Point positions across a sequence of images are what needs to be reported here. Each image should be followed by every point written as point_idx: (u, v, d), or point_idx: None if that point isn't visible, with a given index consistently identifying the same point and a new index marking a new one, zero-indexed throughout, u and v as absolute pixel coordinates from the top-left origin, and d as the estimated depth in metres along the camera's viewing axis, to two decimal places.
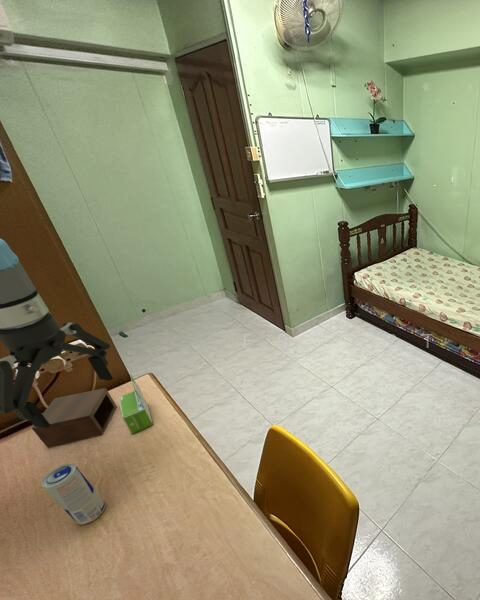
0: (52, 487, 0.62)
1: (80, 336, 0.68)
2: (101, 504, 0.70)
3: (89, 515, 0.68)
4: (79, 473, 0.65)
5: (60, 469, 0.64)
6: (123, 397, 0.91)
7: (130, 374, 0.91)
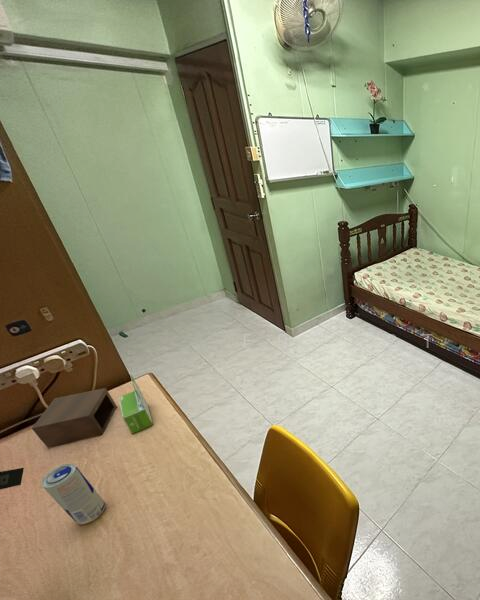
0: (52, 487, 0.62)
1: None
2: (101, 504, 0.70)
3: (89, 515, 0.68)
4: (79, 473, 0.65)
5: (60, 469, 0.64)
6: (123, 397, 0.91)
7: (130, 374, 0.91)
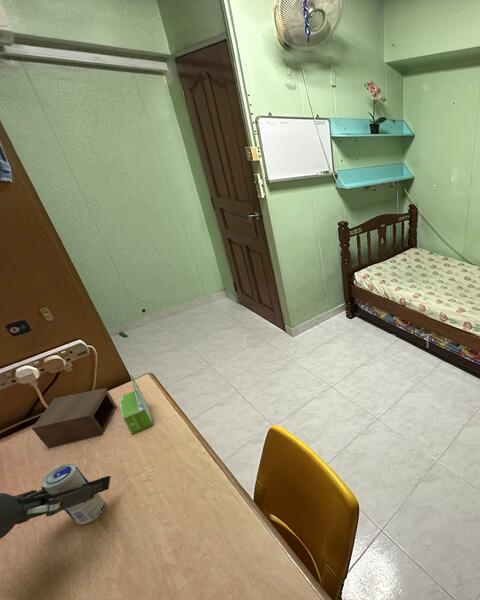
0: (52, 487, 0.62)
1: None
2: (101, 504, 0.70)
3: (89, 515, 0.68)
4: (79, 473, 0.65)
5: (60, 469, 0.64)
6: (123, 397, 0.91)
7: (130, 374, 0.91)
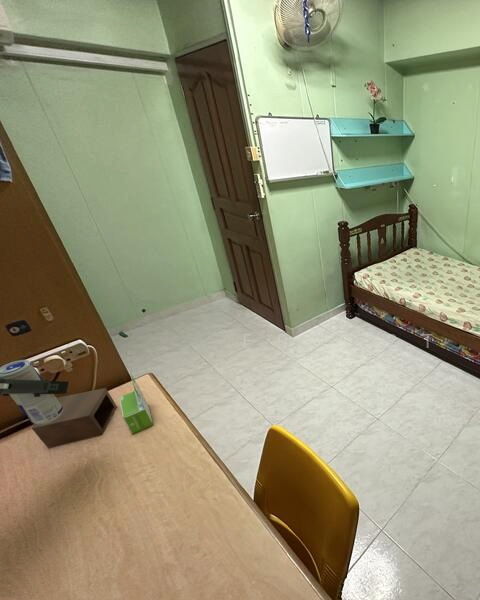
0: (4, 377, 0.62)
1: None
2: (58, 407, 0.71)
3: (44, 414, 0.68)
4: (33, 369, 0.66)
5: (14, 363, 0.65)
6: (123, 397, 0.91)
7: (130, 374, 0.91)
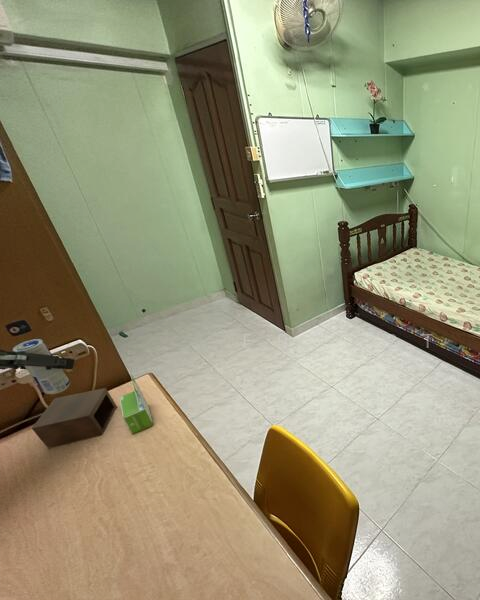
0: None
1: None
2: (66, 380, 0.83)
3: (54, 385, 0.81)
4: (45, 347, 0.79)
5: (29, 342, 0.77)
6: (123, 397, 0.91)
7: (130, 374, 0.91)
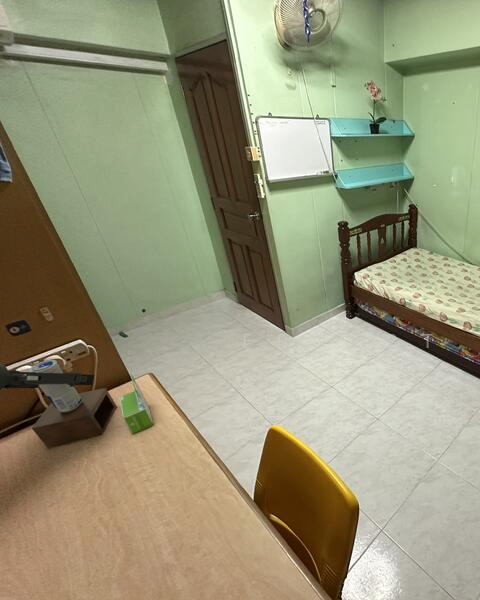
0: None
1: None
2: (78, 398, 0.87)
3: (67, 404, 0.84)
4: (59, 367, 0.82)
5: (44, 362, 0.81)
6: (124, 397, 0.91)
7: (131, 374, 0.91)
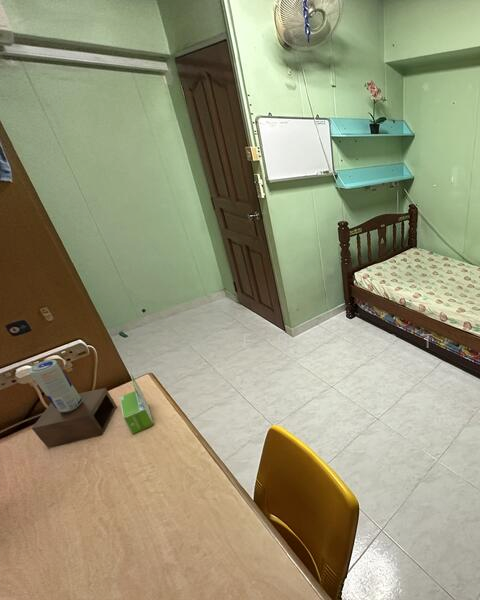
0: (37, 373, 0.78)
1: None
2: (78, 398, 0.87)
3: (67, 404, 0.84)
4: (59, 367, 0.82)
5: (44, 363, 0.81)
6: (124, 397, 0.91)
7: (131, 374, 0.91)
